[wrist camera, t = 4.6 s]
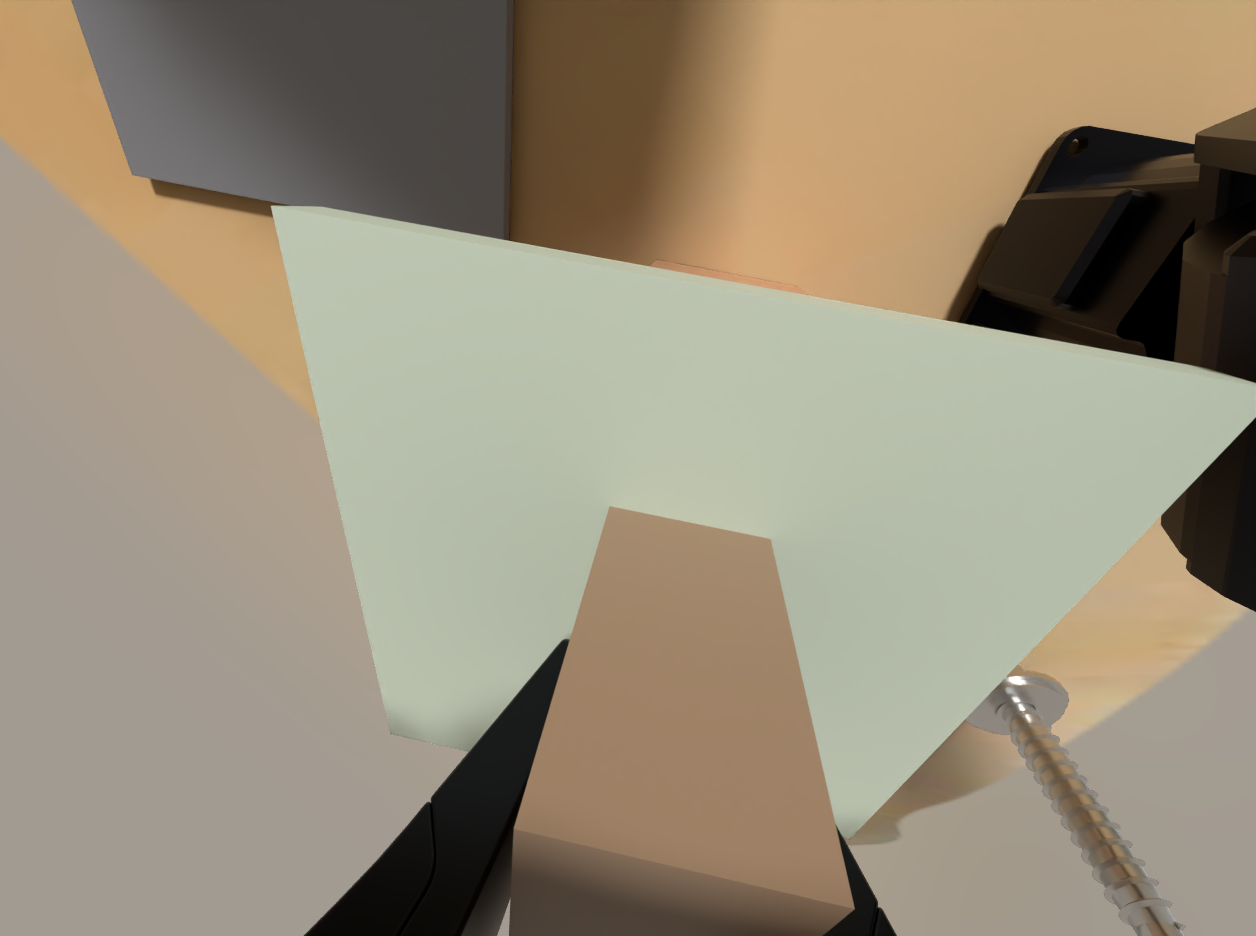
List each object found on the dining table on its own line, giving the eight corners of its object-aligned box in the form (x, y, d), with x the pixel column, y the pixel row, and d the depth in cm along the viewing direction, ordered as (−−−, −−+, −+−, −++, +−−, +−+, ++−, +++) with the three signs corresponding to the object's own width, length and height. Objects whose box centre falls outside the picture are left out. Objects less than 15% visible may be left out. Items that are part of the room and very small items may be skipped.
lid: (1207, 367, 7) (2927, 888, 2) (840, 799, 14) (926, 1150, 9) (321, 206, 7) (-615, 189, 2) (408, 702, 14) (247, 976, 9)
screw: (983, 707, 27) (923, 673, 26) (1062, 667, 24) (998, 628, 24) (1191, 1063, 16) (1094, 1021, 15) (1373, 1053, 13) (1269, 1002, 12)
